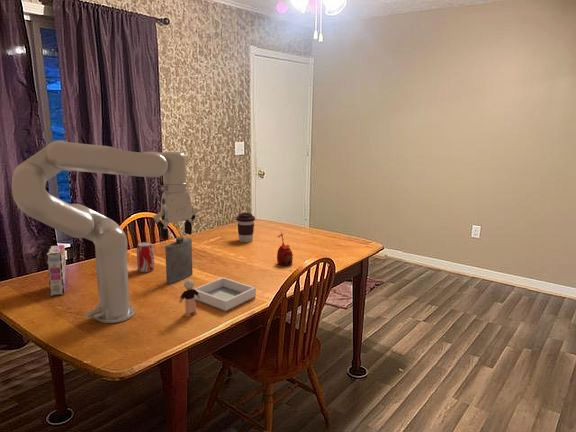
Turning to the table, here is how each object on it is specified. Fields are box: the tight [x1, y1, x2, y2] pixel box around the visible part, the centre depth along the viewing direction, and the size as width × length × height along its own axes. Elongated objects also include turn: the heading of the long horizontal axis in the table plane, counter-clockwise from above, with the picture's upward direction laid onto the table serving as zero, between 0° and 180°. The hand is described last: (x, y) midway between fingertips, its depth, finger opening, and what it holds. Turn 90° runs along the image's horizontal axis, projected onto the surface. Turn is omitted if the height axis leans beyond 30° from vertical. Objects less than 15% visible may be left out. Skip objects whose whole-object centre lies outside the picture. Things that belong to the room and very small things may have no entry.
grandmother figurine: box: [178, 278, 200, 318], centre depth 147 cm, size 8×4×13 cm, turn 141°
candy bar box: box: [46, 244, 68, 297], centre depth 164 cm, size 11×5×16 cm, turn 21°
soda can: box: [136, 241, 155, 273], centre depth 187 cm, size 7×7×12 cm
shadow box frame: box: [194, 276, 257, 313], centre depth 162 cm, size 16×17×4 cm
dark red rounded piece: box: [276, 231, 294, 266], centre depth 200 cm, size 8×7×15 cm
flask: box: [164, 236, 194, 285], centre depth 178 cm, size 4×14×18 cm, turn 152°
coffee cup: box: [236, 212, 256, 243], centre depth 235 cm, size 10×10×15 cm
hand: (176, 236), depth 152 cm, fingers open, 9 cm apart
